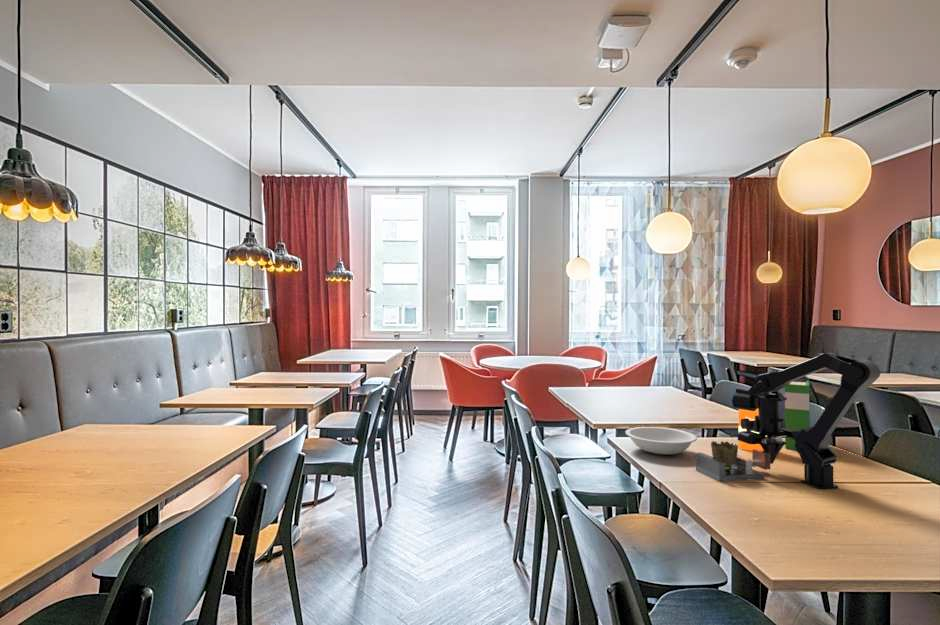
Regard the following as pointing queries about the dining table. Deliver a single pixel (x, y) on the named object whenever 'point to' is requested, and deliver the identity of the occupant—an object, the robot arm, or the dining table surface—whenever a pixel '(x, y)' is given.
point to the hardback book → (796, 409)
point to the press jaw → (752, 461)
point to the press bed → (733, 475)
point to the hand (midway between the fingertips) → (770, 463)
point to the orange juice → (751, 417)
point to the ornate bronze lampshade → (725, 453)
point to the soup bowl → (661, 439)
